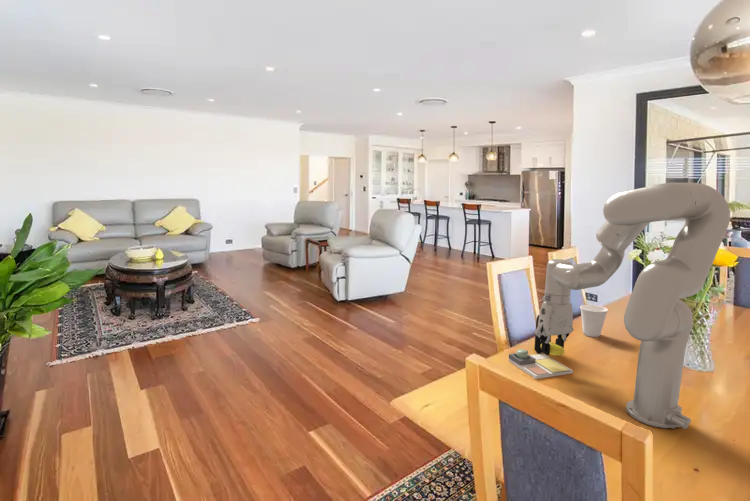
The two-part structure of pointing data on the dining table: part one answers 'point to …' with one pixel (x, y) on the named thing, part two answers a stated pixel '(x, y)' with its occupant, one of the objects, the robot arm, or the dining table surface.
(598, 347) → the dining table surface
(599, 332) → the cup
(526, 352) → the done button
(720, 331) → the dining table surface
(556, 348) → the lemon
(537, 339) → the carrying case or bag
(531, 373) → the picture board
